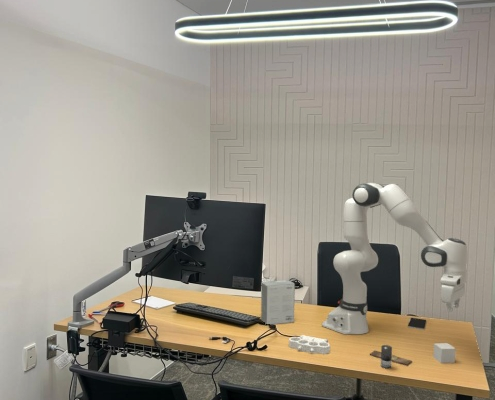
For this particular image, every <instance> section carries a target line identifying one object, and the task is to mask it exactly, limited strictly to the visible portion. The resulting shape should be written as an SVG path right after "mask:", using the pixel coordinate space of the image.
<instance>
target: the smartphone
mask: <svg viewBox="0 0 495 400" xmlns="http://www.w3.org/2000/svg"><path fill="white" fill-rule="evenodd" d="M426 324H427V320H426V319H423V318H418V317H417V318H416V317H410V318H409V321H408V324H407V328H408V327H410V328H409V329H415V328H416V329H417V330H424V331H425V329H426Z"/></svg>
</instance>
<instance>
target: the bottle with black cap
mask: <svg viewBox="0 0 495 400" xmlns="http://www.w3.org/2000/svg"><path fill="white" fill-rule="evenodd" d="M380 352H381V358H380V367H381V368H382V369H384V368H385V369H386V370H390V369H392V361H391V360H392V355H393V347H392V346H391V345H389V344H383V345H381V350H380Z"/></svg>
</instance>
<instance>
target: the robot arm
mask: <svg viewBox="0 0 495 400" xmlns="http://www.w3.org/2000/svg"><path fill="white" fill-rule="evenodd" d="M381 205H382V206H383V207H384V208H385V209H386V211H387V212H388V213H389V216H390V217H391V218H392V219H393V220H394V221H395V222H396V223H397V224H398V225H400V226H403V227H406V228H409V229H411V230H413V231H414V232H416V234H418V236H419V237H420V238H421V239H422V241H423V242H424V243H425V244H426V246H425V247H424V248H422V250H421V252H420V259H421V262H422V263H424V265H425V266H426V267H428V268H429V267H431V268H438V267H439V268H441V267H443V273H442V276H441V278H440V281H439V282H440V284H441V289H440V290H441V292H440V293H441V302H442V303H444V304H445V305H446V312H447V313H452V312H453V310H454V309H457V308H459V307H460V302H461V298H462V297H463V296H465V294H466V293H465V292H466V283H467V263H468V246H467V244H466V242H465V241H463V240H461V239H458V238H453V237H449V238H447V239H446V240H444V239H442V238H441V237H440V236H439V235H438V234H437V233H436V231H435V230H434V229H433V228H432V227H431V225H430V223H428V221H427V220H426V219H425V218H424V216H423V215H422V214H421V213H420V212H419V210H418V208H417V207H416V205H415V204H414V202H413V201H412V200H411V199H410V197H409V196H408V195H407V194H406V193H405V191H404V190H403V189H402V188H401V187H400V186H398V185H397V184H395V183H390V184H387V185H385V186H384V185H383V184H380V183H377V182H376V183H375V182H367V183H361V184H359V185H356V186H355V188H354V189H353V191H352V197H351V198H348V199H347V200H346V201H345V202H344V205H343V215H342V218H343V220H342V221H343V222H342V223H343V226H342V228H343V238H344V239H345V241H348V243H349V246H350V250H343V251H341V252H339V253H337V254H336V255H335V256H334V258H333V260H332V261H333V263H332V264H333V268H334V269H335V271H336V272H337V273H338V274H339V275H340V278H341V281H342V286H343V287H342V290H343V292H342V293H343V294H342V298H340V300H338V301H337V304H339V305H338V306H337V307H336V308H334V309H332V310H331V311H330V312H329V313H328V314H327V317H326V320H324V321H322V324H321V327H324V328H327V329H329V330H332V331H335V332H337V333H340V334H343V335H363V334H367V333H368V332H369V330H370V329H369V325H368V319H367V313H368V301H367V296H368V295H367V294H368V293H367V292H368V286H367V284H366V283H365V282H364V281H363V279H362V276H361V273H362V272H363V273H364V272H369V271H370V270H373V269H375V268H376V267H377V266H378V263H379V257H378V256H379V255H378V254H377V252H376V251H375V250H374V249H373V248H372V246H371V244H370V241H369V237H368V219H367V215H368V214H367V213H368V210H369V208H370V209H372V208H375V207H378V206H381ZM453 308H454V309H453Z"/></svg>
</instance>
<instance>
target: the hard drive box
mask: <svg viewBox="0 0 495 400" xmlns="http://www.w3.org/2000/svg"><path fill="white" fill-rule="evenodd" d="M261 282H262V283H261V286H260V287H261V288H260V289H261V290H260V292H261V293H260V294H261V302H260V305H261V306H260V311H261V312H260V313H261V314H260V315H261V316H260V321H261V320H262V321H263V322H265V324H264V325H266V324H270V325H277V324H289V323H295V300H296V299H295V297H296V296H295V295H296V294H295V293H296V291H295V290H296V289H295V287H296V284H295V283H294V282H293V281H291V280H289V279H288V280H274V281H273V280H272V281H264V282H263V281H261ZM262 321H261V322H262ZM263 322H262V323H263Z"/></svg>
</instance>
